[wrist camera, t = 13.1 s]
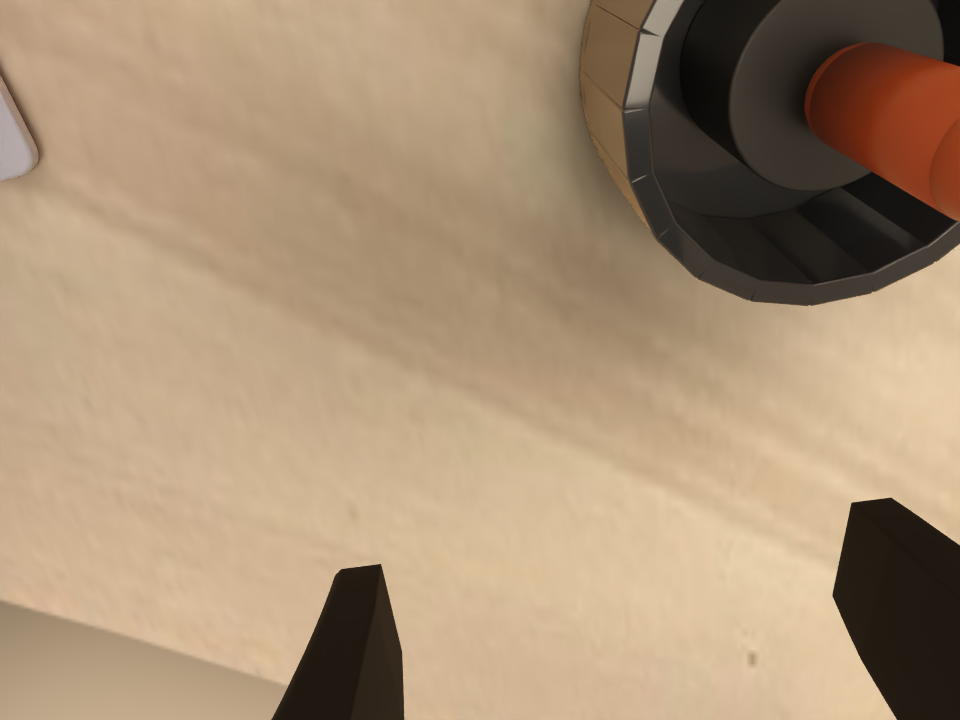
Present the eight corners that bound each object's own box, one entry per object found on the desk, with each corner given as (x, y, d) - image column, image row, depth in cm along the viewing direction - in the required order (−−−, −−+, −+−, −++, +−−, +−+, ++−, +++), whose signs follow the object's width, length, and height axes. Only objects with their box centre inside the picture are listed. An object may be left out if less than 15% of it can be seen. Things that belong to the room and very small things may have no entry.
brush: (684, 166, 18) (870, 349, 10) (674, -23, 16) (898, 45, 8) (855, 129, 17) (1163, 290, 10) (868, -66, 15) (1266, -36, 8)
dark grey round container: (600, 258, 19) (643, 341, 16) (554, -117, 15) (600, -121, 11) (923, 190, 19) (1043, 259, 15) (972, -213, 15) (1152, -248, 11)
